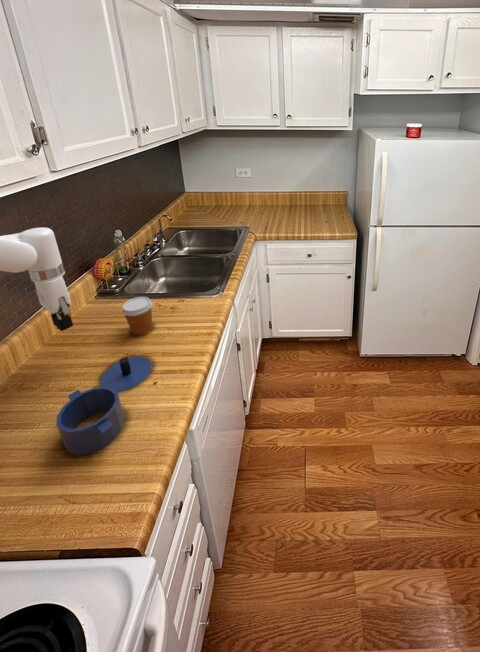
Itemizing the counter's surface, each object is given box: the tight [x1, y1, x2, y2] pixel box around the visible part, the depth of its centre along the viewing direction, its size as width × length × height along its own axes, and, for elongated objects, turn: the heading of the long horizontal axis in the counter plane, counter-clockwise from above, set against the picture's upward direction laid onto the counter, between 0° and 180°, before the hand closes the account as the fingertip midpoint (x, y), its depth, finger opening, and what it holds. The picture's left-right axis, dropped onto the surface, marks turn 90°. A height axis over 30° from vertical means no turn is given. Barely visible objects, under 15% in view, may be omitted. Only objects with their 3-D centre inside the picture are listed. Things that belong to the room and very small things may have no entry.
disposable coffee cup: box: [121, 296, 153, 336], centre depth 117 cm, size 10×10×12 cm
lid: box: [100, 356, 153, 393], centre depth 100 cm, size 14×14×6 cm
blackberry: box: [54, 311, 63, 330], centre depth 98 cm, size 3×3×5 cm
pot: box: [55, 386, 126, 456], centre depth 82 cm, size 13×18×8 cm
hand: (63, 325), depth 99 cm, fingers closed on blackberry, 3 cm apart
